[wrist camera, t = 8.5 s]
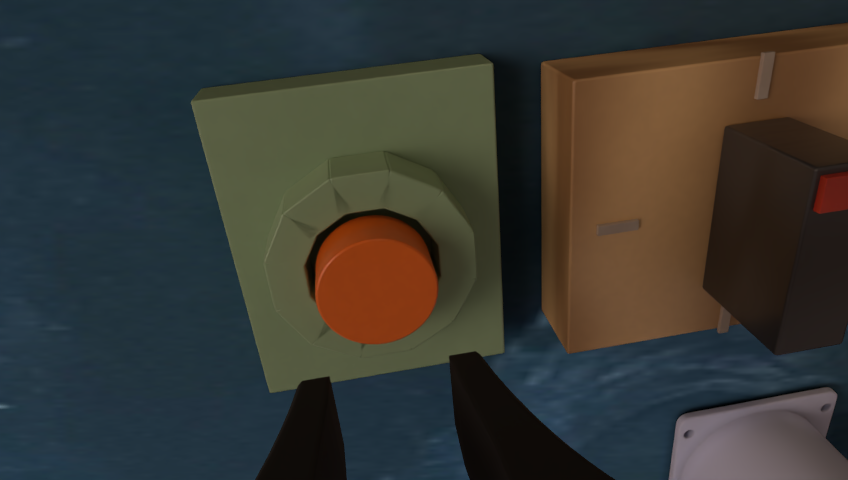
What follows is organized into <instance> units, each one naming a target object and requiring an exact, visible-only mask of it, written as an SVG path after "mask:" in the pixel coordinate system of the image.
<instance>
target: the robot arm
mask: <svg viewBox="0 0 848 480" xmlns="http://www.w3.org/2000/svg"><path fill="white" fill-rule="evenodd" d="M449 362H450V373H451V384H452V395H453V406H454V417H455V425H456V430H457V434H458V438H459V443H460V447H461V451H462V455H463V459H464V464H465V467H466V470H467V473H468V476H469V479H470V480H615V479H613V478H612V477H610V476H609V475H607V474H606V473H604V472H603V471H602V470H600V469H599V468H597V467H596V466H595V465H593V464H592V463H590V462H589V461H588V460H586V459H585V458H584V457H582V456H581V455H580V454H578V453H577V452H576V451H575V450H573V449H572V448H571V447H570V446H568V445H567V444H566V443H565V442H563V441H562V440H561V439H560V438H559V437H558V436H556V435H555V434H554V433H553V432H552V431H551V430H550V429H549V428H547V427H546V426H545V425H544V424H543V423H542V422H541V421H540V420H539V419H538V418H537V417H536V416H534V415H533V414H532V413H531V412H530V411H529V410H528V409H527V408H526V407H525V406H524V405H523V403H522V402H521V401H520V400H519V399H518V398H517V397H516V396H515V395H514V394H513V393H512V392H511V391H510V390H509V389H508V388H507V387H506V385H505V384H504V383H503V382H502V381H501V380H500V379H499V378H498V376H497V375H496V374H495V373H494V372H493V370H492V369H491V368H490V367H489V365H488V364H487V363H486V361H485V360H484V359H483V357H482V356H481V355H480V354H479V353H477V352H476V351H473V352H467V353H462V354H456V355H450V356H449ZM836 400H837V394H836V392H835V391H834V390H832V389H831V388H829V387H824V388H818V389H813V390H808V391H802V392H797V393H792V394H786V395H781V396H776V397H770V398H765V399H760V400H754V401H749V402H744V403H738V404H733V405H728V406H722V407H717V408H712V409H706V410H701V411H696V412H690V413H686V414H683V415H681V416H680V417H679V418H678V420H677V422H676V428H675V436H674V444H673V451H672V459H671V466H670V474H669V480H848V460H847V459H846V458H845V457H844V456H843V455H842V454H841V453H840V452H839V451H838V450H837V449H836V448H835V447H834V446H833V445H832V444H831V443H830V442H829V441H828V440H827V439H826V434H827V431H828V428H829V424H830V421H831V417H832V414H833V410H834V407H835V403H836ZM255 480H347V477H346V464H345V452H344V443H343V438H342V433H341V428H340V423H339V419H338V414H337V409H336V404H335V400H334V395H333V390H332V385H331V380H330V376H327V377H321V378H316V379H310V380H304V381H301V383H300V384H299V385H298V387H297V390H296V393H295V396H294V399H293V401H292V404H291V407H290V409H289V412H288V414H287V416H286V419H285V421H284V423H283V426H282V428H281V430H280V432H279V434H278V437H277V439H276V441H275V443H274V445H273V447H272V449H271V451H270V453H269V455H268V457H267V459H266V461H265V463H264V465H263V466H262V468H261V470H260V472H259V474H258V476H257V477H256V479H255Z"/></svg>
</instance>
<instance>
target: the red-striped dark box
mask: <svg viewBox="0 0 848 480" xmlns="http://www.w3.org/2000/svg"><path fill="white" fill-rule="evenodd" d="M702 287H703V289H704V290H705V291H706V292H707V293H708V294H709V295H710V296H711V297H713V298H714V299H715V300H716V301H717V302H718V303H719V304H720V305H721V306H722V307H723V308H725V309H726V310H727V311H728V312H729V313H730V314H731V315H732V316H733V317H734V318H735V319H736V320H738V321H739V322H740V323H741V324H742V325H743V326H744V327H745V328H746V329H747V330H748V331H749V332H751V333H752V334H753V335H754V336H755V337H756V338H757V339H758V340H759V341H760V342H761V343H763V344H764V345H765V346H766V347H767V348H768V349H769V350H770V351H771V352H772V353H773V354H775V355H782V354H787V353H793V352H798V351H804V350H809V349H815V348H821V347H826V346H832V345H837V344H841V343H842V341H843V337H844V334H845V330H846V327H847V323H848V140H847V139H844V138H842V137H839V136H837V135H834V134H831V133H829V132H826V131H824V130H821V129H818V128H816V127H813V126H811V125H808V124H805V123H803V122H800V121H798V120H795V119H792V118H790V117H785V118H778V119H771V120H764V121H757V122H750V123H743V124H736V125H729V126H726V127H725V128H724V135H723V142H722V150H721V157H720V164H719V171H718V178H717V185H716V193H715V200H714V207H713V214H712V221H711V228H710V236H709V243H708V250H707V257H706V264H705V271H704V278H703V286H702Z"/></svg>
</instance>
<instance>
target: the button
mask: <svg viewBox="0 0 848 480" xmlns="http://www.w3.org/2000/svg"><path fill="white" fill-rule="evenodd" d="M438 291H439V289H438V278H437V275H436V272H435V269H434V266H433V263H432V260H431V257H430V254H429V251H428V248H427V245H426V244H425V242H424V240H423V238H422V237H421V236H420V234H419V233H418V232H417V231H416V230H415V229H414V228H412V227H411V226H410V225H408V224H407V223H405V222H403V221H401V220H399V219H396V218H393V217H389V216H383V215H367V216H362V217H357V218H355V219H352V220H349V221H347V222H345V223H343V224H342V225H340V226H339V227H337V228H336V229H335V230H334V231H332V232H331V233H330V234H329V235H328V237H327V238H326V239H325V240H324V242H323V243H322V245H321V247H320V249H319V252H318V255H317V259H316V276H315V299H316V305H317V308H318V311H319V313H320V315H321V317H322V318H323V320H324V321H325V323H326V324H327V325H328V326H329V327H330V328H331V329H332V330H333V331H334V332H336V333H337V334H339V335H340V336H342V337H344V338H346V339H348V340H351V341H354V342H358V343H362V344H385V343H390V342H394V341H397V340H400V339H402V338H404V337H406V336H408V335H410V334H411V333H413V332H414V331H416V330H417V329H418V328H419V327H421V326H422V325H423V324H424V323H425V321H426V320H427V319H428V318H429V316H430V314H431V313H432V311H433V309H434V307H435V304H436V301H437V298H438Z"/></svg>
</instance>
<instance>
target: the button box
mask: <svg viewBox="0 0 848 480" xmlns="http://www.w3.org/2000/svg"><path fill="white" fill-rule="evenodd" d="M191 105H192V108H193V112H194V116H195V119H196V123H197V127H198V131H199V134H200V138H201V142H202V145H203V149H204V153H205V156H206V160H207V164H208V167H209V171H210V175H211V178H212V182H213V186H214V189H215V193H216V197H217V200H218V204H219V208H220V211H221V215H222V219H223V222H224V226H225V230H226V234H227V237H228V241H229V245H230V248H231V252H232V256H233V259H234V263H235V267H236V270H237V274H238V278H239V281H240V285H241V289H242V292H243V296H244V300H245V303H246V307H247V311H248V314H249V318H250V322H251V326H252V329H253V333H254V337H255V340H256V344H257V348H258V351H259V355H260V359H261V362H262V366H263V370H264V373H265V377H266V381H267V384H268V388H269V392H270V393H274V392H280V391H286V390H292V389H297V387H298V385H299V384H300V383H301V381H304V380H310V379H316V378H321V377H327V376H330V380H331V383H332V382H338V381H344V380H350V379H356V378H361V377H367V376H373V375H379V374H385V373H390V372H396V371H402V370H408V369H414V368H419V367H425V366H431V365H437V364H443V363H448V362H449V356H450V355H456V354H462V353H467V352H473V351H476V352H477V353H479V354H480V355H481V356H482V357H483V356H489V355H495V354H501V353H504V351H505V350H504V324H503V298H502V272H501V247H500V221H499V195H498V169H497V143H496V117H495V92H494V66H493V63H492V62H490V61H489V60H488V59H486V58H485V57H484V56H482V55H481V54H474V55H466V56H458V57H450V58H442V59H434V60H426V61H418V62H410V63H402V64H394V65H386V66H378V67H370V68H362V69H354V70H346V71H338V72H330V73H322V74H314V75H306V76H298V77H290V78H282V79H274V80H266V81H258V82H250V83H242V84H234V85H226V86H218V87H210V88H202V89H201V90H200V91H199V92H198V94H197V95H196V96H195V97H194V99H193V100H192V101H191ZM367 215H383V216H389V217H393V218H396V219H399V220H401V221H403V222H405V223H407V224H408V225H410V226H411V227H412V228H414V229H415V230H416V231H417V232H418V233H419V234H420V236H421V237H422V238H423V240H424V242H425V244H426V245H427V248H428V251H429V254H430V257H431V260H432V263H433V266H434V269H435V272H436V275H437V278H438V289H439V291H438V298H437V301H436V304H435V307H434V309H433V311H432V313H431V314H430V316H429V318H428V319H427V320H426V321H425V323H424V324H423V325H422V326H421V327H419V328H418V329H417V330H416V331H414V332H413V333H411V334H410V335H408V336H406V337H404V338H402V339H400V340H397V341H394V342H390V343H385V344H362V343H358V342H354V341H351V340H348V339H346V338H344V337H342V336H340V335H339V334H337V333H336V332H334V331H333V330H332V329H331V328H330V327H329V326H328V325H327V324H326V323H325V321H324V320H323V318H322V317H321V315H320V313H319V311H318V308H317V305H316V299H315V276H316V259H317V255H318V252H319V249H320V247H321V245H322V243H323V242H324V240H325V239H326V238H327V237H328V235H329V234H330V233H331V232H332V231H334V230H335V229H336V228H337V227H339V226H340V225H342V224H343V223H345V222H347V221H349V220H352V219H355V218H357V217H362V216H367Z"/></svg>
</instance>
